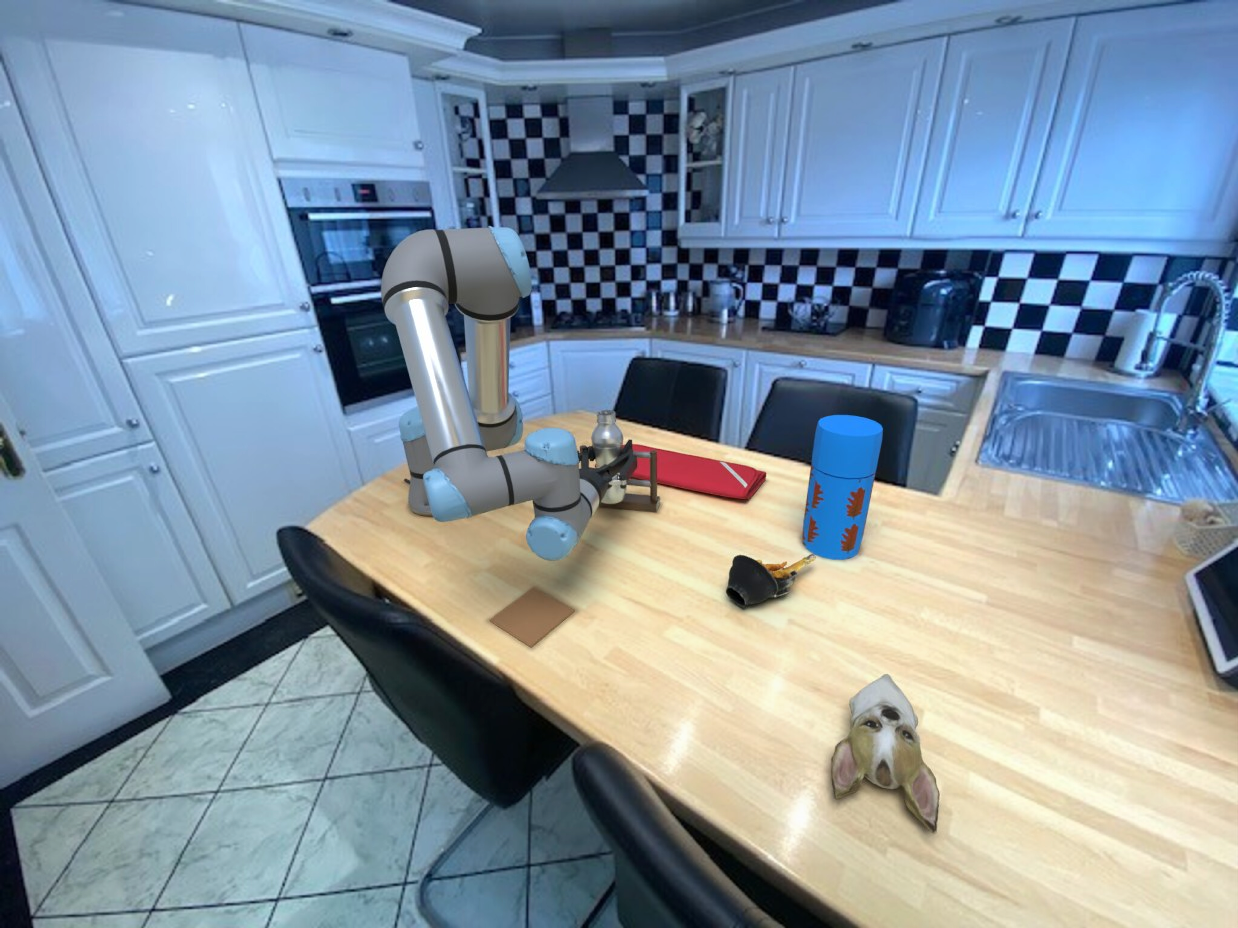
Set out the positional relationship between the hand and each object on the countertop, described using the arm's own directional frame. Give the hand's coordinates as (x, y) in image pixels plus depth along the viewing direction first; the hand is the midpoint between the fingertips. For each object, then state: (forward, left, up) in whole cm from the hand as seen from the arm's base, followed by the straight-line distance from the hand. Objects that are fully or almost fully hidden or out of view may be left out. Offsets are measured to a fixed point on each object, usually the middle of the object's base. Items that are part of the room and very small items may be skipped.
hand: (615, 444), depth 109 cm
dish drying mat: (-4, +21, -16) cm, 27 cm away
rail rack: (-1, +1, -16) cm, 16 cm away
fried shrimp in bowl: (+40, +4, -16) cm, 43 cm away
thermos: (+38, +24, -16) cm, 48 cm away
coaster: (+20, -32, -16) cm, 41 cm away
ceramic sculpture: (+68, -11, -16) cm, 71 cm away
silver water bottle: (+3, -4, -11) cm, 12 cm away
